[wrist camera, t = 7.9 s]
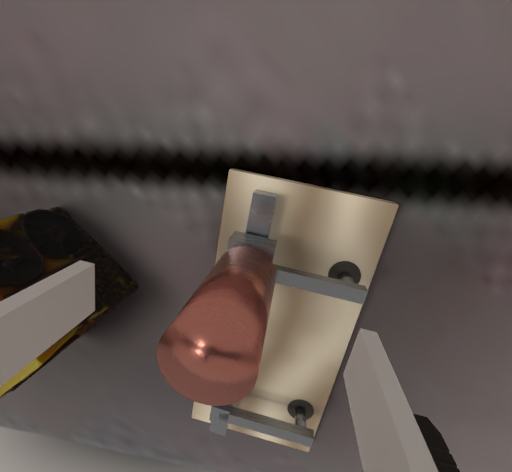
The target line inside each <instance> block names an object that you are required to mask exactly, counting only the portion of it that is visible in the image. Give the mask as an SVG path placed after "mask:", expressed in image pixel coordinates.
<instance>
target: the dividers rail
mask: <svg viewBox="0 0 512 472" xmlns="http://www.w3.org/2000/svg"><path fill="white" fill-rule="evenodd" d="M277 196H278V194H276V193H271V192H266V191H262V190H257V189H256V190H255V191H254V192H253V195H252V201H251V206H250V211H249V217H248V222H247V228H246V233H248V234H252V235H256V236H261V237H265V238H269V234H270V229H271V224H272V220H273V215H274V210H275V206H276V201H277ZM209 420H210V421H211V423H210V428H209V432H213V433H216V434H219V435H223V436H225V435H226V432H227V428H228V424H229V423H230V424H233V425H236V426H240V427H243V428H246V429H250V430H253V431H257V432H260V433H263V434H267V435H270V436H274V437H277V438H280V439H284V440H287V441H291V442H294V443H297V444H301V445H304V446H308V447H311V446H312V443H313V441H314V430H313V429H309V428H306V409H305V408H304V407H303V406H297V407H296V408H295V424H292V423H289V422H285V421H282V420H278V419H275V418H271V417H268V416H264V415H261V414H257V413H254V412H250V411H247V410H243V409H240V408H236V407H233V404H229V405H224V406H211V412H210V417H209Z"/></svg>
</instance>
